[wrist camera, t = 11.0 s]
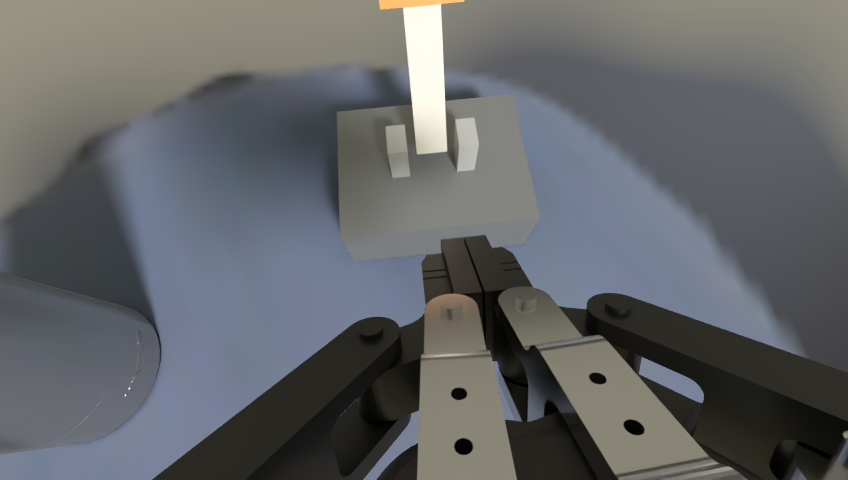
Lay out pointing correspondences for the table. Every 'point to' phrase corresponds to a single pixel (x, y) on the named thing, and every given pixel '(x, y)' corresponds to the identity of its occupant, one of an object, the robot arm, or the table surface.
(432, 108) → the lever
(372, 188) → the block
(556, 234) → the table surface
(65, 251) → the table surface
